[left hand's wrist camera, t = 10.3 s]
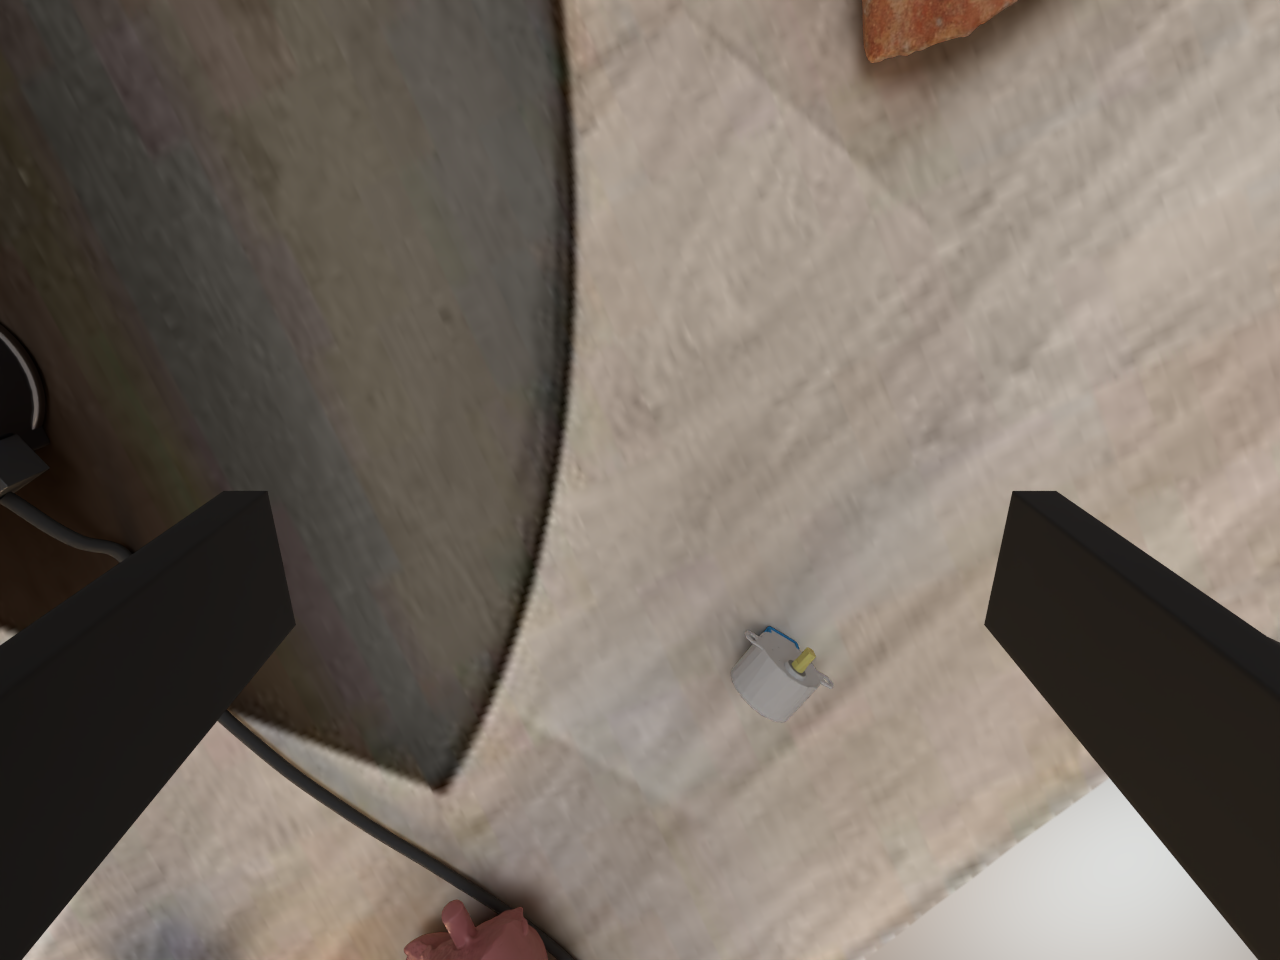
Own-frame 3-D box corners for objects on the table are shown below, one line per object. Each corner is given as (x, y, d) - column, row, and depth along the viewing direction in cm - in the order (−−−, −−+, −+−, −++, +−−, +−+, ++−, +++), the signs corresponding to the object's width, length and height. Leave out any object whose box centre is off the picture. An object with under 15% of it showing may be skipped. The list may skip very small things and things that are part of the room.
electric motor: (839, 641, 46) (861, 690, 41) (793, 690, 48) (810, 743, 43) (755, 590, 45) (768, 635, 40) (711, 643, 46) (719, 692, 42)
